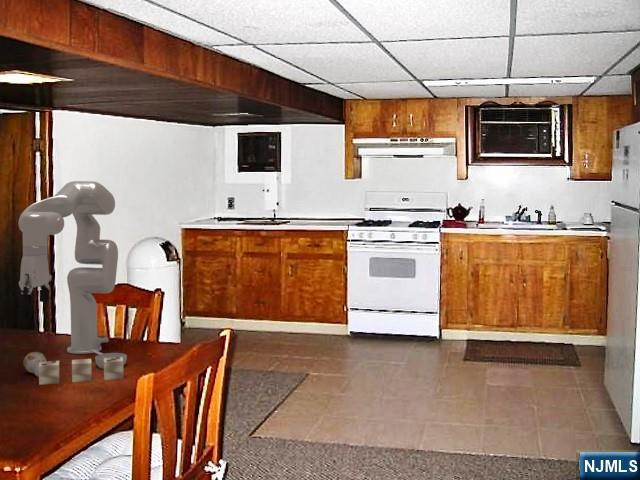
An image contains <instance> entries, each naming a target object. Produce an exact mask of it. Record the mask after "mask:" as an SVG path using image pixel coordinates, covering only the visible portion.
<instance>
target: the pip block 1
mask: <svg viewBox="0 0 640 480" xmlns="http://www.w3.org/2000/svg"><path fill="white" fill-rule="evenodd" d="M59 383H60V360H48V361H47V360H46V362H40V363H39V377H38V385H39V386H40V385H41V386H42V385H53V384H54V385H55V384H56V385H57V384H59Z"/></svg>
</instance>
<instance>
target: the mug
mask: <svg viewBox="0 0 640 480" xmlns="http://www.w3.org/2000/svg"><path fill="white" fill-rule="evenodd" d="M46 361H47V358H46V356H45V355H44V354H43V353H42V352H40V351H32V352H29V353H27V355H26V356H25V357H24V359H23V362H22V363H23V367H24V369H25V370H26V371H27V372H29V373H31V374H34V375H35V376H36V377H37V378H39V363H40V362H46Z"/></svg>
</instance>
